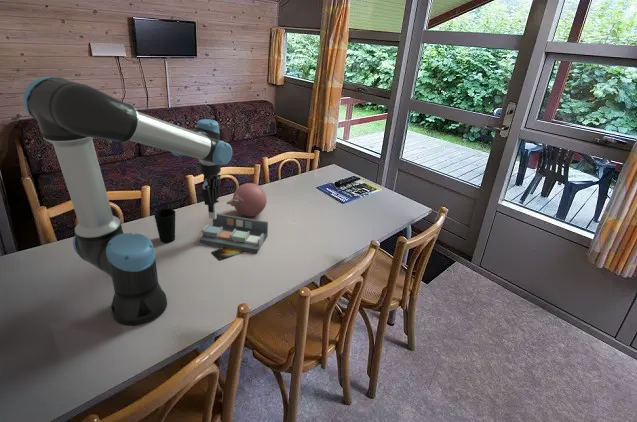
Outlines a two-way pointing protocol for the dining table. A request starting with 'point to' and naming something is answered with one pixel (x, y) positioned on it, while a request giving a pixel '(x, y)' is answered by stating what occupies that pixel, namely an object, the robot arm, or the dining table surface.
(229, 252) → the smartphone
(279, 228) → the dining table surface
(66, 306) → the dining table surface
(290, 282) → the dining table surface
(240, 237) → the key sage
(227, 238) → the key terracotta
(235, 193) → the balloon
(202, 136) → the robot arm
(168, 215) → the cup
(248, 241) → the key cream
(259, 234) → the keypad
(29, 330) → the dining table surface
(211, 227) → the key slate
